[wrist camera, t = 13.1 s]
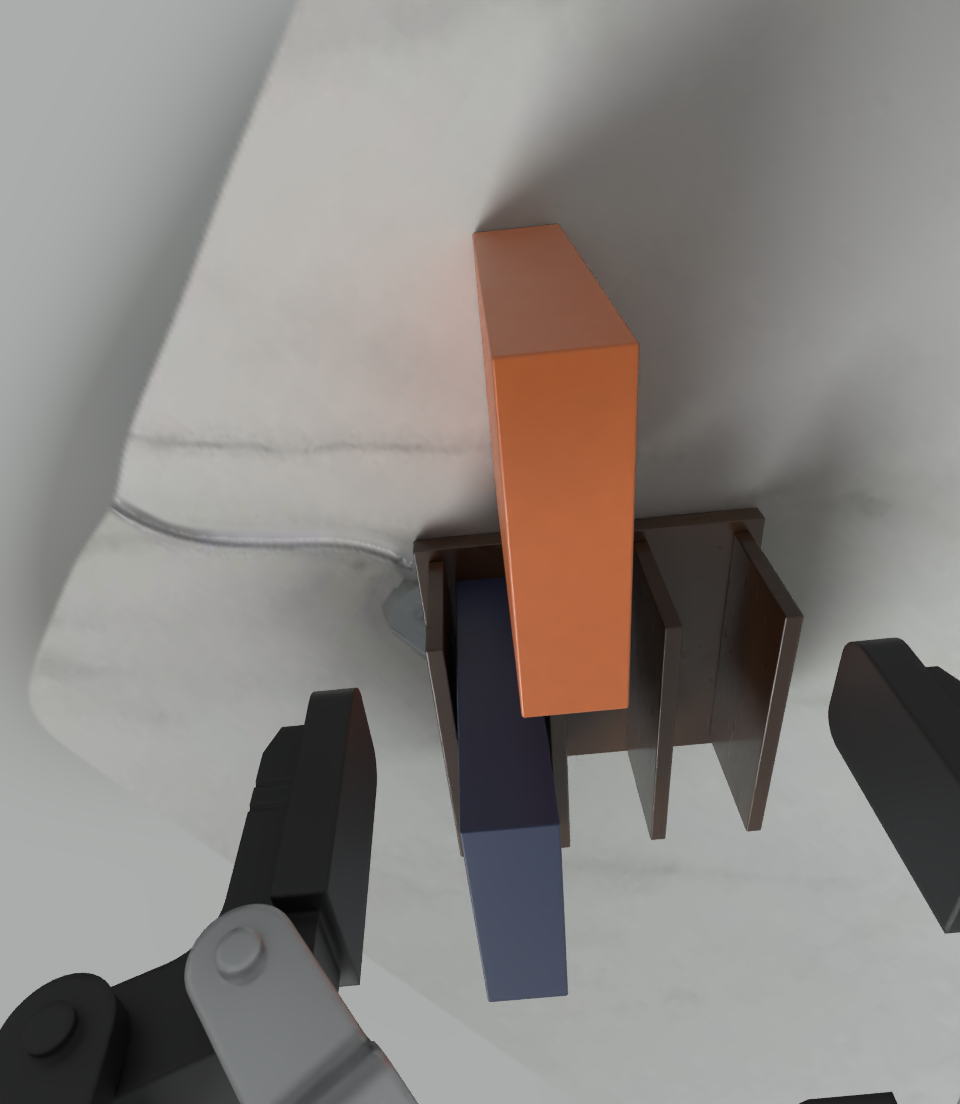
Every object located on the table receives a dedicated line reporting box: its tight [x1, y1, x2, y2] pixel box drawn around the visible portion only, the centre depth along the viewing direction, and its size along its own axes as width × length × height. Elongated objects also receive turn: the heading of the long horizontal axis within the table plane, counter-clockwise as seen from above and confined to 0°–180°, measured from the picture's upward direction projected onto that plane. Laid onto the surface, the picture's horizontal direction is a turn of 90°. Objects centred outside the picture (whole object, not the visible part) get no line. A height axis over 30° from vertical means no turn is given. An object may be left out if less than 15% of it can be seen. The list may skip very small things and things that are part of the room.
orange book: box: [473, 224, 639, 718], centre depth 20 cm, size 3×9×11 cm, turn 5°
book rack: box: [413, 508, 803, 857], centre depth 29 cm, size 13×12×6 cm
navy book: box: [455, 577, 568, 1002], centre depth 26 cm, size 3×9×11 cm, turn 5°
